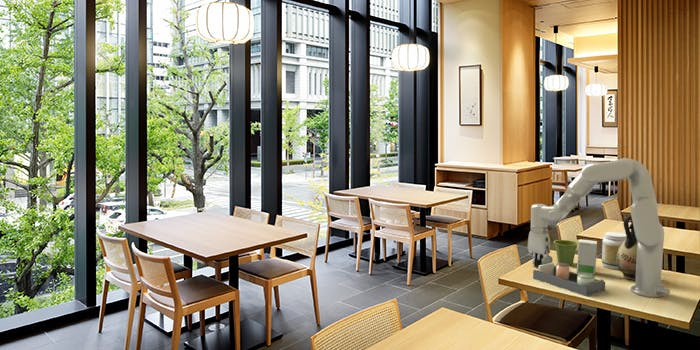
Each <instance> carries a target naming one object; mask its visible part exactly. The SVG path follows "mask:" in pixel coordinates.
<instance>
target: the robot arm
mask: <svg viewBox="0 0 700 350" xmlns="http://www.w3.org/2000/svg"><path fill="white" fill-rule="evenodd" d="M624 180H627V181H628V184H629V190H630V193H631V199H632V200H631V201H632V203H631V206H630V215H631V217H632V220H631V222H632V221H633V226H634V231H635V236H636V239H637V241H638V243H637V259H636V279H635V280H634V281H635V282H634V283H635V284H634V285H632V286H631V287H630V291H631V292H632V293H634V294H636V295H639V296H642V297H648V298H660V297H664V296H670V294H671V289H669V288H666V287H664V285H665V284H664V283H662V276H663V275H662V272H663V258H664V257H663V255H664V244H665V243H664V241H665V229H664V227H663V225H662V224H661V222H660V218H659V214H658V213H659V212H658V210H659V205H658V202H657V198H656V194H655V189H654V185H653V181H652V177H651V174H650V172H649V170H648V169H647V167H645V165H644V164H643V163H642V162H639V161H638V160H635V159H632V158H628V157H623V158H619V159H617V160H613V161H605V162H604V161H603V162H597V161H591V162H589V163H587V164H585V165H584V166H583V167H582V168H581V171H579V173H578V175H577V176H576V177H575V178H574V179H573V180H572V181H571V182H570V183H569V184H568V185H567V187H566V190H565V192H564V193H563V195H562V196H561V197H559V199H558V200H556V202H555V203H554V204H553V205H550V206H547V205H546V204H543V203H533V204H532V205H531V206H530V231H529V233H528V238H527V250H528V253H529V254H530V255H532V259H533V258H534V264H533V265H534V268H538V266H539V265H542V259H543V258H544V257H548V253H549V254H550V253H551V238H550V234H549V231H550V229H548V222H551V223H559V222H561V220H563V219H564V218H566V217H567V216H568V215H569V214H570V213H571V212H572V210H573V209H574V208H575V207H577V205H578V204H579V203H580V202H581V201H582V200H584V198H585V197H586V196H587V195H588V194H589V193H590V192H591V191H592V190H593V188H594V187H596V186H597V184H598V183H606V182H607V183H608V182H615V181H624Z"/></svg>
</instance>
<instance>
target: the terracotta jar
mask: <svg viewBox="0 0 700 350" xmlns="http://www.w3.org/2000/svg"><path fill="white" fill-rule="evenodd" d="M555 267H556V277H559V278H562V279H566V280H569V271H570V265H569V264H568V263H565V262H558V261H557V262H556V264H555Z"/></svg>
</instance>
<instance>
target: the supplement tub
mask: <svg viewBox="0 0 700 350" xmlns="http://www.w3.org/2000/svg"><path fill="white" fill-rule="evenodd" d="M626 237H627V236H626V232H625V233H624V232H617V231H607V232H605V233H604V238H603V239H602V240H601V241H602V244H601V245H602V247H601V248H602V249H601V264H602V266H603V267H605V268H607V269H609V270H619V268H618V267H617V264H616V256H617V252H618V249H619V248H620V246H621V245H622V244H623V242H624V241H625V240H626ZM619 271H620V270H619Z"/></svg>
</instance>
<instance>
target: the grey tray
mask: <svg viewBox="0 0 700 350" xmlns="http://www.w3.org/2000/svg"><path fill="white" fill-rule="evenodd" d="M579 274H580V273H577V272H574V271H570V270H569V280H566V279H562V278H559V277H556V266H554V269H553V275H550V274H546V273H543V272H540V271H538V269H533V271H532V279H533V280H536V281H539V280H540V281H539V282H542V281H543V283H545V282H546V283H545V284H548V283H549V284H548V285H551V286H555V287H558V288H560V289H564V290H567V291H569V292H573V293H576V294H578V295H582V296H585V297H588V296H591V295H595V294H599V293H602V292H605V291H606V281H605V280H604V279H597V278H595V281H594V282H590V283H586V286H585V285H582V284H579V283H577V276H578V275H579Z"/></svg>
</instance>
